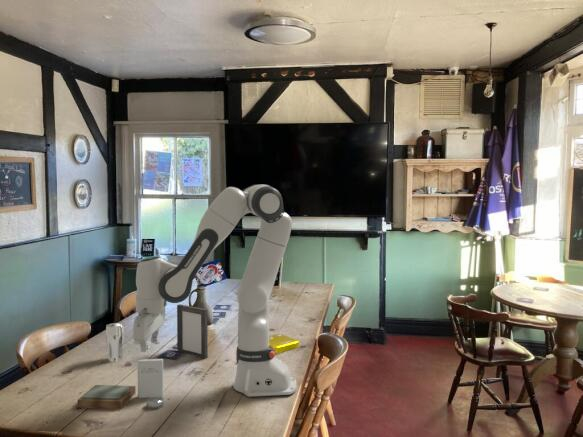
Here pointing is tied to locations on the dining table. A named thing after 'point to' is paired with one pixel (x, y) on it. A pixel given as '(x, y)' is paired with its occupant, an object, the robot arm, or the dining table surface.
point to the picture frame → (192, 331)
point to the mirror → (106, 397)
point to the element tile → (282, 343)
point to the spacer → (155, 403)
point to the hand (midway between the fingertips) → (149, 346)
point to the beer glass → (115, 341)
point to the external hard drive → (150, 378)
